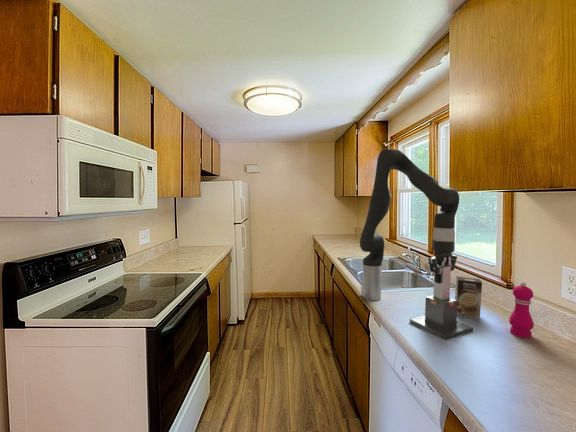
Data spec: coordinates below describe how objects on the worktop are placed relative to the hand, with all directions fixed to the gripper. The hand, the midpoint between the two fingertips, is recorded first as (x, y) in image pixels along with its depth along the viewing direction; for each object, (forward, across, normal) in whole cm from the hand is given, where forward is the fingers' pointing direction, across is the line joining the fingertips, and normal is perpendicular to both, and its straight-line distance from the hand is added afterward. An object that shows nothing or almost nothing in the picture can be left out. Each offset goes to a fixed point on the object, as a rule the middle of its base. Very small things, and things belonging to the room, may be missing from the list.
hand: (441, 282), depth 114 cm
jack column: (+11, 0, 0) cm, 11 cm away
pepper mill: (+18, -22, +17) cm, 33 cm away
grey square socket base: (+18, 0, 0) cm, 18 cm away
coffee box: (+18, -21, -3) cm, 28 cm away
